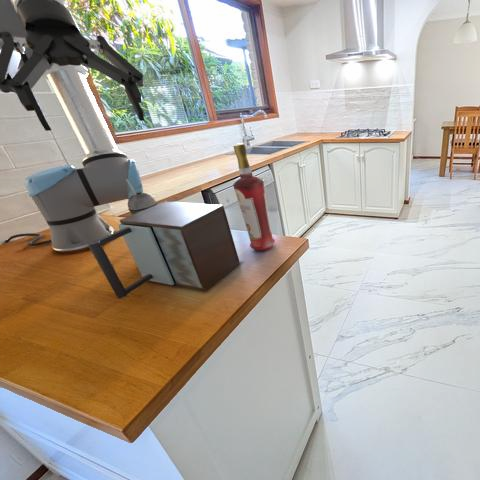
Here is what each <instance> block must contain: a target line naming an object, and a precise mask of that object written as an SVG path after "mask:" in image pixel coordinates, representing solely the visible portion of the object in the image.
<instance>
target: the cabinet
mask: <svg viewBox="0 0 480 480" xmlns="http://www.w3.org/2000/svg"><path fill="white" fill-rule="evenodd" d="M119 224H123V225H132V226H140V227H149V228H151V230H152V233H153V235H154V237H155V240H156V242H157V244H158V247H159V249H160V251H161V254H162V256H163V258H164V261H165V263H166V265H167V268H168V270H169V272H170V275H171V277H172V279H173V282H174V284H173V285H172V286H177V287H181V288H186V289H187V288H188V289H193V290H196V291H203V292H207V291H208V290H209V289H210V288H212V287H213V286H214V285H215V284H216V283H218V282H219V281H220V280H221V279H222V278H224V277H225V276H226V275H228V274H229V273H230V272H232V270H234V269H235V268H236V267H237V266H239V265H240V264H241V262H240V259H239V255H238V251H237V248H236V245H235V241H234V238H233V233H232V230H231V227H230V224H229V220H228V217H227V213H226V210H225V206H224V205H223V204H211V203H198V202H183V201H170V200H165V201H162V202H161V203H157V205H155V206H153V207H150V208H148V209H145V210H143V211H141V212H138V213H136V214H133V215H132V214H130V215H129V216H126V217H123V218H121V219H119Z"/></svg>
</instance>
